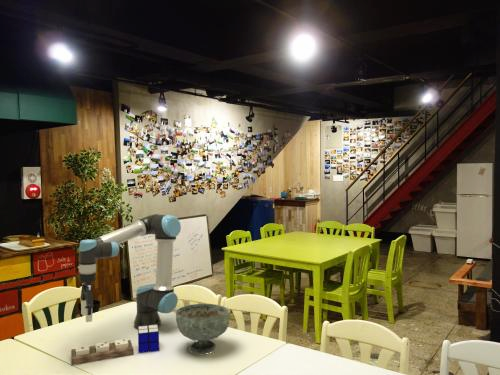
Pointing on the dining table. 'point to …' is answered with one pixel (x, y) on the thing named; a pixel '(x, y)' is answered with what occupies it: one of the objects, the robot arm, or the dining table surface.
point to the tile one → (82, 350)
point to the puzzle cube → (148, 338)
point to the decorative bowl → (202, 325)
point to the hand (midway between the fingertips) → (86, 317)
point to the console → (101, 354)
